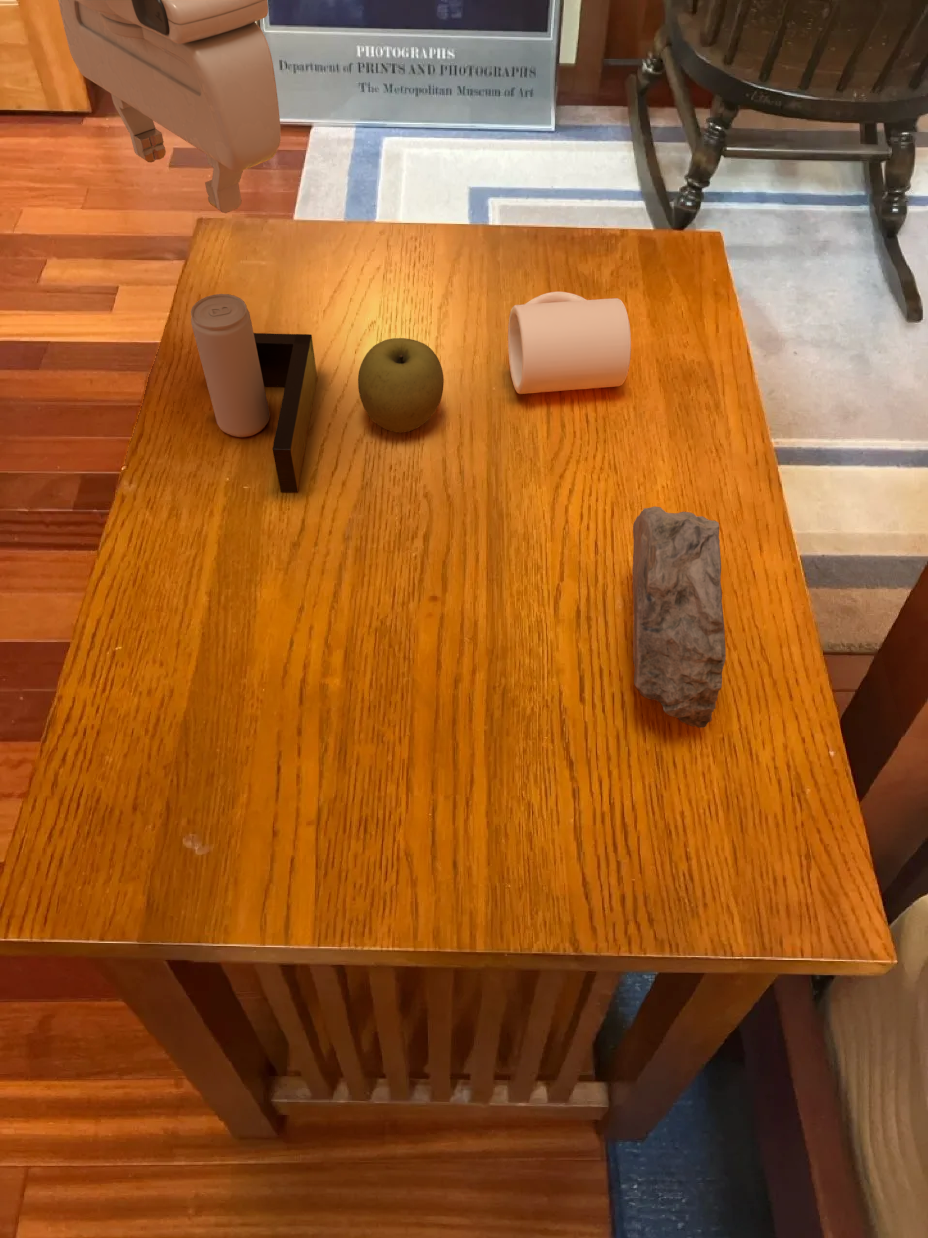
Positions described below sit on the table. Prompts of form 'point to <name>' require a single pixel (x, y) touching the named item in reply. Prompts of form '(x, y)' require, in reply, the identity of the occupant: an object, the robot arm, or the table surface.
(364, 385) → the apple
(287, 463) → the bracket
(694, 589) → the decorative rock
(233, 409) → the beverage can
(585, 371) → the mug
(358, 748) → the table surface
